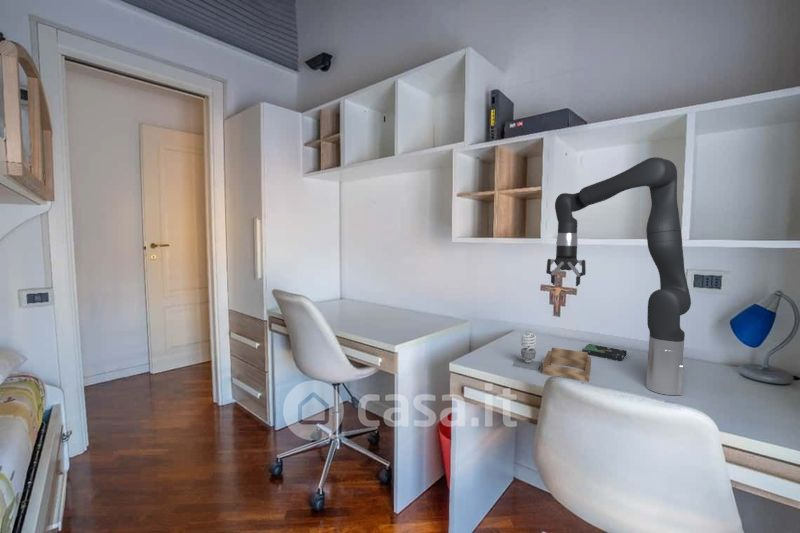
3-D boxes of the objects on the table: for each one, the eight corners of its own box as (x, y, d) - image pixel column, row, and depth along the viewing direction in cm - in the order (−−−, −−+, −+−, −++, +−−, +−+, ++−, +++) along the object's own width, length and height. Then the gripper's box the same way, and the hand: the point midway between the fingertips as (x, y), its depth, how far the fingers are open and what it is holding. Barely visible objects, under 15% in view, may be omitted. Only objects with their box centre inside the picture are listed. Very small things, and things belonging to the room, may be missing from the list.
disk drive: (626, 357, 160) (588, 349, 170) (627, 350, 160) (588, 343, 170) (621, 363, 152) (581, 354, 162) (621, 356, 152) (581, 348, 162)
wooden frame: (590, 368, 144) (591, 352, 143) (588, 381, 131) (589, 364, 130) (548, 361, 151) (548, 347, 151) (542, 374, 138) (543, 357, 137)
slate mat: (541, 363, 149) (541, 361, 149) (537, 370, 142) (538, 368, 141) (518, 359, 154) (518, 358, 154) (513, 366, 146) (513, 364, 146)
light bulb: (535, 366, 144) (536, 335, 143) (519, 364, 146) (520, 333, 145) (536, 361, 149) (536, 331, 148) (521, 360, 151) (521, 330, 150)
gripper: (587, 244, 151) (585, 285, 153) (548, 244, 158) (547, 283, 159) (586, 245, 145) (584, 287, 146) (546, 244, 151) (544, 285, 153)
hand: (565, 285), depth 153 cm, fingers open, 8 cm apart
